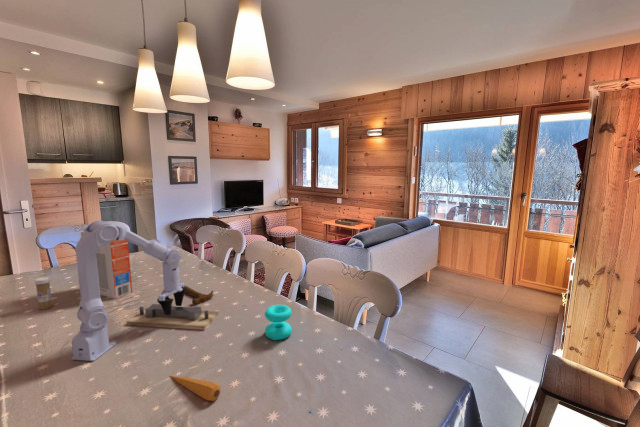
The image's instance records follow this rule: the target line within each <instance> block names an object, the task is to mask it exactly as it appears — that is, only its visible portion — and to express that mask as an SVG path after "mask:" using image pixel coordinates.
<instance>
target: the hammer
mask: <svg viewBox="0 0 640 427" xmlns="http://www.w3.org/2000/svg"><path fill="white" fill-rule="evenodd" d="M183 288H186V292H185V294H187V295H189V296H191V297H194V299H193V298H192V301H191V302H192V305H193V306H198V305H199V304H203V303H206V302H209V301H211V300H212V298H213V296H214V290H211V292H209V293H208V294H205V293H202V292H198V291H196V290H194V289H192V288H190V287H189V286H188V285H185V284H184V287H183Z"/></svg>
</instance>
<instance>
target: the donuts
mask: <svg viewBox="0 0 640 427" xmlns="http://www.w3.org/2000/svg"><path fill="white" fill-rule="evenodd" d="M292 314H293V312H292V309H291V307H289V306H288V305H285V304H273V305H270V306H268V307H267V308H266V310H265V311H264V317H265V319H266V320H267V321H269V322H271V323H269V324H268V325H267V326H266V327H265V330H264V333H265V336H266V337H267V338H268V339H270V340H274V341H281V340H285V339H288V337H290V336H291V334H292V332H293V328H292V325H290V324H289V322H286V321H287V320H289V319H290V318H291V317H292Z"/></svg>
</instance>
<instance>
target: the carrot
mask: <svg viewBox="0 0 640 427" xmlns="http://www.w3.org/2000/svg"><path fill="white" fill-rule="evenodd" d="M169 377H170V378H172V379H173V380H175V381H176V382H177V383H178V384H180V385H181V386H183V387H185V388H186V389H188V390H190V391H191V392H192V393H194V394H196V395H198V396H199V397H201V398H202V399H204V400H206V401H207V402H209V401H210V402H214V401H216V400H217V399H218V398H219V396H220V393H221V392H222V391H221V389H222V388H221V385H219V384H218V383H216V382H214V381H206V380H202V379H195V378H190V377H185V376H175V375H169Z"/></svg>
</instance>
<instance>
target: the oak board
mask: <svg viewBox="0 0 640 427" xmlns="http://www.w3.org/2000/svg"><path fill="white" fill-rule="evenodd" d="M148 307H149V306H147V307H145V308H144V306H140V307H139V312H138V313H137V314H136V315H134V316H133V317H131V318H130V319H128V320H127V321H126V325H127V326H139V327H151V328H152V327H155V328H169V329H171V328H172V329H186V330H197V331H199V330H200V331H202V330H203V331H204V330H206V329H207V328H208V327H209V326H210V324H212V323H213V321H214V320H215V319H216V318H217V317H218V315H219V311H216V310H215V311H213V310H208V309H207V310H202V309H201V316H200V317H199V318H198V319H197V320H196V321H190V320H188V319H179V318H163V317H154V318H146V314H145V309H147V308H148Z"/></svg>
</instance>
